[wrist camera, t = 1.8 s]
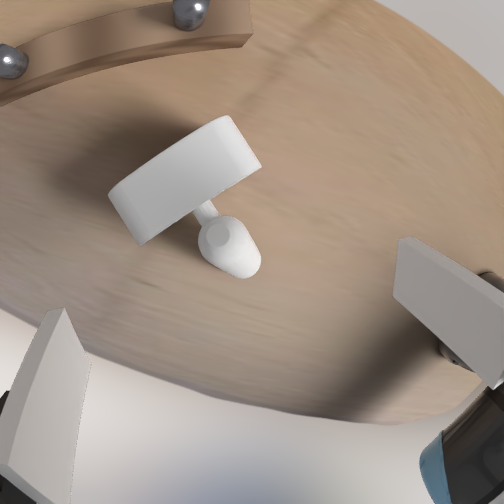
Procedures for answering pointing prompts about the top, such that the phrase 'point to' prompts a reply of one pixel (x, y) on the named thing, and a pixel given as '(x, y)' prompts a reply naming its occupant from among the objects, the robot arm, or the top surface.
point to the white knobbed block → (193, 194)
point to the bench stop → (122, 42)
